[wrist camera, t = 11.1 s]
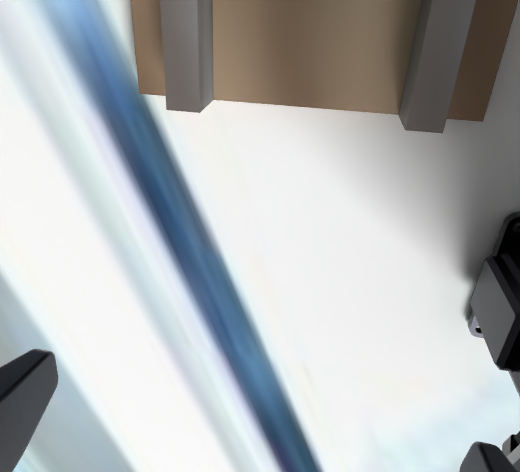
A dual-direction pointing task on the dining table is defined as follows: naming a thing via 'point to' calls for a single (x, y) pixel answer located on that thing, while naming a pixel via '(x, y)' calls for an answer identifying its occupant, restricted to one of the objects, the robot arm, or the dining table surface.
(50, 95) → the dining table surface
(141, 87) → the rail board
